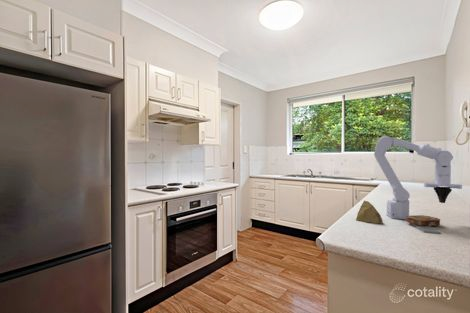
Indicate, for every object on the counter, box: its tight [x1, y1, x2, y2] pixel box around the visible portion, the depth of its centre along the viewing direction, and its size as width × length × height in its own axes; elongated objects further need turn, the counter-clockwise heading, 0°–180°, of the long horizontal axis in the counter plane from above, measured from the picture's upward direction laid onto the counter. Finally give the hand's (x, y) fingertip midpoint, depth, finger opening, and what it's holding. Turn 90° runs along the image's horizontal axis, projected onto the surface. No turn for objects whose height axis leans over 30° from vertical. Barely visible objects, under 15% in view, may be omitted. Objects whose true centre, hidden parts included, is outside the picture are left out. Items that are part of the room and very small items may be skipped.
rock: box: [355, 200, 384, 224], centre depth 111 cm, size 11×9×10 cm
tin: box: [406, 215, 441, 227], centre depth 108 cm, size 15×3×8 cm
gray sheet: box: [407, 222, 442, 235], centre depth 103 cm, size 6×15×1 cm, turn 163°
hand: (442, 202), depth 112 cm, fingers closed
